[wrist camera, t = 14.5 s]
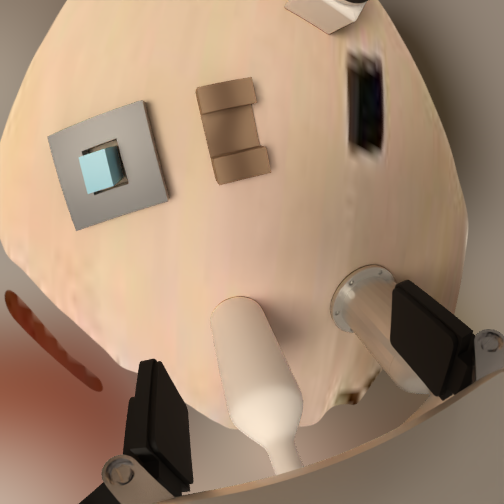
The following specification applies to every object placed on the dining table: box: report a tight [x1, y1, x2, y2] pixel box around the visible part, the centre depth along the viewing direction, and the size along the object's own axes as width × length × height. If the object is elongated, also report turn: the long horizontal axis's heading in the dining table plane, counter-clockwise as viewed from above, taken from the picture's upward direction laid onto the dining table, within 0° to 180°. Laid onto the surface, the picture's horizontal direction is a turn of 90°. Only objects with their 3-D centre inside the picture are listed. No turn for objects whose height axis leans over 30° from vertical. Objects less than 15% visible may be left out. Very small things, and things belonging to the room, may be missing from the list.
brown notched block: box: [196, 77, 271, 185], centre depth 33 cm, size 6×11×4 cm, turn 12°
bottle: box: [210, 297, 304, 475], centre depth 31 cm, size 8×8×30 cm
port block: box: [48, 100, 169, 231], centre depth 31 cm, size 12×12×2 cm
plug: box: [78, 146, 124, 194], centre depth 30 cm, size 3×4×6 cm
